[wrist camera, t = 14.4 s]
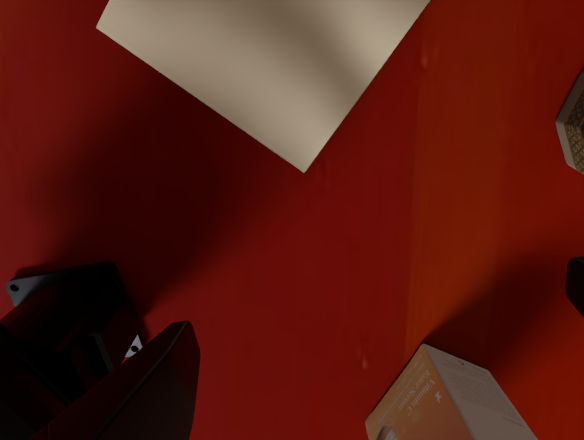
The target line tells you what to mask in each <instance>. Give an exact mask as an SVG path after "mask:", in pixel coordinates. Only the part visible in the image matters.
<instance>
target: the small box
mask: <svg viewBox="0 0 584 440" xmlns="http://www.w3.org/2000/svg"><path fill="white" fill-rule="evenodd" d="M365 423H366V428H367V432H368V436H369V440H538V439H537V438H536V437H535V435H534V434H533V432H532V431H531V430H530V428H529V427H528V426H527V424H526V423H525V421H524V420H523V419H522V417H521V416H520V414H519V413H518V411H517V410H516V409H515V407H514V406H513V404H512V403H511V402H510V400H509V399H508V397H507V396H506V395H505V393H504V392H503V390H502V389H501V388H500V386H499V385H498V383H497V382H496V380H495V379H494V378H493V376H492V375H491V373H490V372H489V371H488V370H486V369H484V368H482V367H479V366H477V365H474V364H472V363H470V362H467V361H465V360H463V359H460V358H457V357H455V356H453V355H450V354H448V353H446V352H443V351H441V350H438V349H436V348H434V347H431V346H429V345H427V344H422V345H421V346H420V347H419V349H418V350H417V352H416V353H415V355H414V356H413V358H412V359H411V361H410V362H409V364H408V365H407V367H406V368H405V369H404V371H403V372H402V373H401V375H400V376H399V377H398V379H397V380H396V381H395V383H394V384H393V385H392V387H391V388H390V389H389V391H388V392H387V393H386V395H385V396H384V397H383V399H382V400H381V401H380V403H379V404H378V405H377V407H376V408H375V409H374V411H373V412H371V414H370V415H369V416H368V418H367V419H366V422H365Z"/></svg>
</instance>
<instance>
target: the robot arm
mask: <svg viewBox="0 0 584 440" xmlns="http://www.w3.org/2000/svg"><path fill="white" fill-rule="evenodd" d="M104 269H108V270H109V271H110V273H107V272H105V270H104ZM15 284H16V285H18V287H19V288H17V287H16V286H15ZM6 289H7V291H8V293H9V295H10V298H11V300H12V302H13V304H14V306H15V308H14V309H13V310H11V311H10V312H9V313H8V314H7V315H6V316H4V317H3V318H2V319H1V320H0V440H189V437H190V433H191V428H192V423H193V418H194V411H195V402H196V393H197V384H198V375H199V366H200V349H199V345H198V342H197V339H196V336H195V332H194V329H193V326H192V324H191V322H189V321H181V322H175V323H172V324H171V325H169V326H168V327H167V328H166V329H165V330H163V331H162V332H161V333H160V334H158V335H157V336H156V337H155V338H153V339H152V340H151V341H150V342H148V343H147V344H146V345H145V343H144V341H143V338H142V335H141V333H140V329H141V326H140V323H139V321H138V318H137V315H136V312H135V310H134V307H133V304H132V302H131V299H130V296H129V295H128V294H127V293H126V292H125V289H124V286H123V284H122V281H121V278H120V276H119V273H118V270H117V268H116V266H115V265H114V264H113V263H110V262H103V263H97V264H91V265H85V266H79V267H73V268H67V269H61V270H55V271H50V272H44V273H38V274H32V275H26V276H20V277H15V278H13V279H11V280H10V281H8V282H7V284H6ZM565 291H566V295H567V297H568V299H569V300H570V302H571V303H572V304H573V305H574V306H575V308H576V309H577V310H578V311H579V313H580V314H581V315H582V316H583V318H584V256H579V257H574V258H571V259H570V260H569V262H568V265H567V275H566V286H565ZM133 345H134V346H137V347H138V348H135V347H134V346H133ZM129 356H131V357H130V358H129V359H127V360H126V361H125V362H124V363H122V361H123V359H124V358H125V357H129ZM121 363H122V364H121Z"/></svg>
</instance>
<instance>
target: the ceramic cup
mask: <svg viewBox="0 0 584 440" xmlns="http://www.w3.org/2000/svg"><path fill="white" fill-rule="evenodd" d="M556 127H557V131H558V135H559V138H560V142H561V146H562V149H563V153H564V156H565V160H566V162H567V164H568V165H569V166H571V167H573V168H574V169H576V170H578V171H579V172H581V173H583V174H584V71H583V72H581V74H580V75H579V77H578V78H577V80H576V82H575V84H574V86H573V88H572V90H571V92H570V94H569V96H568V98H567V100H566V101H565V103H564V105H563V107H562V109H561V111H560V113H559V115H558V117H557V119H556Z"/></svg>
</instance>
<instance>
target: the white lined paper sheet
mask: <svg viewBox="0 0 584 440" xmlns="http://www.w3.org/2000/svg"><path fill="white" fill-rule="evenodd" d="M429 1H430V0H109V2H108V4H107V6H106V8H105V10H104V12H103V14H102V16H101V18H100V20H99V22H98V24H97V26H96V28H97V29H99V30H100V31H101V32H103V33H104V34H106V35H107V36H109V37H110V38H111V39H113V40H114V41H116V42H117V43H119V44H120V45H121V46H123V47H124V48H126V49H127V50H129V51H130V52H132V53H133V54H134V55H136V56H137V57H139V58H140V59H142V60H143V61H144V62H146V63H147V64H149V65H150V66H152V67H153V68H154V69H156V70H157V71H159V72H160V73H162V74H163V75H165V76H166V77H167V78H169V79H170V80H172V81H173V82H175V83H176V84H177V85H179V86H180V87H182V88H183V89H185V90H186V91H187V92H189V93H190V94H192V95H193V96H195V97H196V98H197V99H199V100H200V101H202V102H203V103H205V104H206V105H208V106H209V107H210V108H212V109H213V110H215V111H216V112H218V113H219V114H220V115H222V116H223V117H225V118H226V119H228V120H229V121H230V122H232V123H233V124H235V125H236V126H238V127H239V128H240V129H242V130H243V131H245V132H246V133H248V134H249V135H251V136H252V137H253V138H255V139H256V140H258V141H259V142H261V143H262V144H263V145H265V146H266V147H268V148H269V149H271V150H272V151H273V152H275V153H276V154H278V155H279V156H281V157H282V158H284V159H285V160H286V161H288V162H289V163H291V164H292V165H294V166H295V167H296V168H298V169H299V170H301V171H302V172H304V173H305V171H306V170H307V168H308V167H309V166H310V164H311V163H312V162H313V160H314V159H315V158H316V156H317V155H318V153H319V152H320V151H321V149H322V148H323V147H324V145H325V144H326V142H327V141H328V140H329V138H330V137H331V136H332V134H333V133H334V131H335V130H336V129H337V127H338V126H339V125H340V123H341V122H342V120H343V119H344V118H345V116H346V115H347V114H348V112H349V111H350V110H351V108H352V107H353V105H354V104H355V103H356V101H357V100H358V99H359V97H360V96H361V94H362V93H363V92H364V90H365V89H366V88H367V86H368V85H369V83H370V82H371V81H372V79H373V78H374V77H375V75H376V74H377V73H378V71H379V70H380V68H381V67H382V66H383V64H384V63H385V62H386V60H387V59H388V57H389V56H390V55H391V53H392V52H393V51H394V49H395V48H396V46H397V45H398V44H399V42H400V41H401V40H402V38H403V37H404V35H405V34H406V33H407V31H408V30H409V29H410V27H411V26H412V25H413V23H414V22H415V20H416V19H417V18H418V16H419V15H420V14H421V12H422V11H423V9H424V8H425V7H426V5H427V4H428V3H429Z"/></svg>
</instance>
